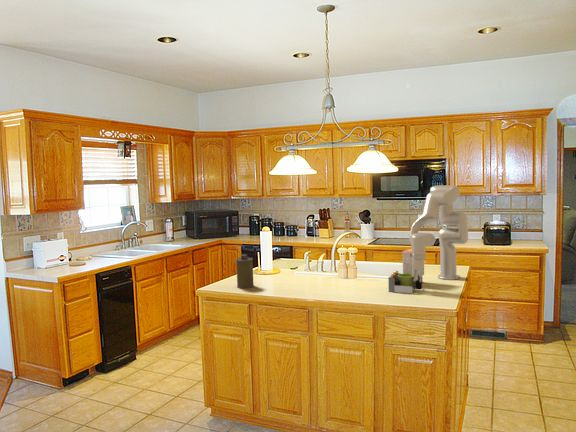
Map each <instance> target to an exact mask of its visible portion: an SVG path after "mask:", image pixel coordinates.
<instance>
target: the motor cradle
mask: <svg viewBox="0 0 576 432" xmlns="http://www.w3.org/2000/svg"><path fill="white" fill-rule="evenodd" d="M390 274H391V275H390V276H388V281H387V282H388V292H390V293H397V294H409V295H410V294H411V295H412V294H414V289H416V281H413V286H404V285H400V280H399V276H398V275H399V274H402V273H401V272H400V273H399V270H393V272H391V273H390Z"/></svg>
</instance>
